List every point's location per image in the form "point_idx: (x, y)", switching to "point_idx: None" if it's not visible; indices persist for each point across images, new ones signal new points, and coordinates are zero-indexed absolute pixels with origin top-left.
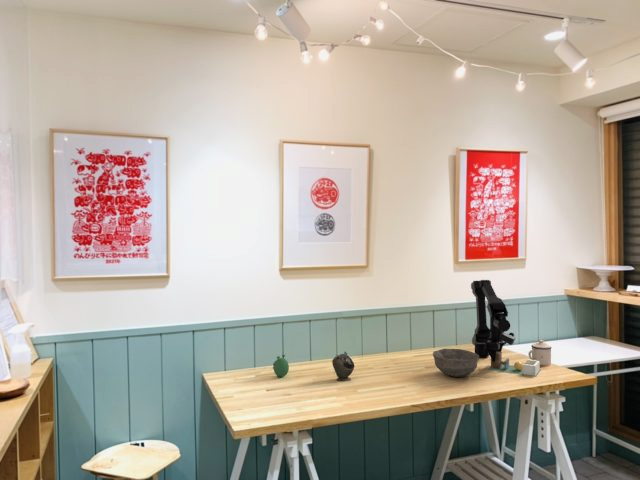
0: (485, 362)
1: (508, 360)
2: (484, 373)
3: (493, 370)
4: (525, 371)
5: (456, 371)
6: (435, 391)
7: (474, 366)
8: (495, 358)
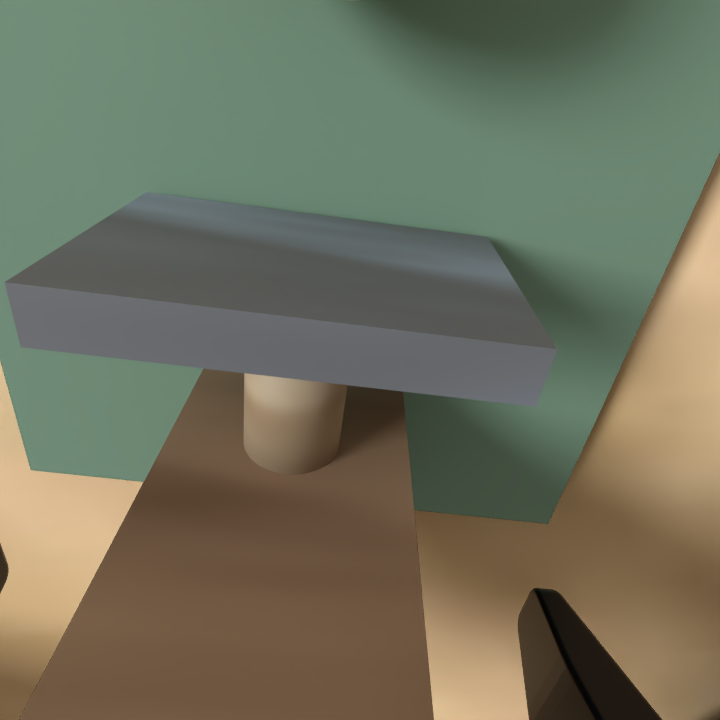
0: (41, 577)
1: (135, 270)
2: (707, 538)
3: (571, 456)
4: None
5: None
6: None
7: None
8: (599, 681)
